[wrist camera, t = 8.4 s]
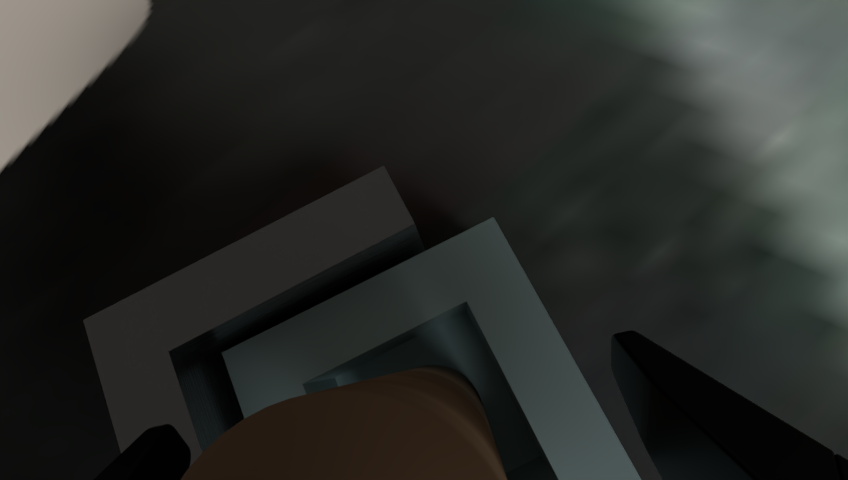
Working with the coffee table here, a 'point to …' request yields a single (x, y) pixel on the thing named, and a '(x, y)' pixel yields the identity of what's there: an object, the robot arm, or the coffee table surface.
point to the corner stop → (239, 308)
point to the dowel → (363, 434)
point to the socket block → (448, 354)
